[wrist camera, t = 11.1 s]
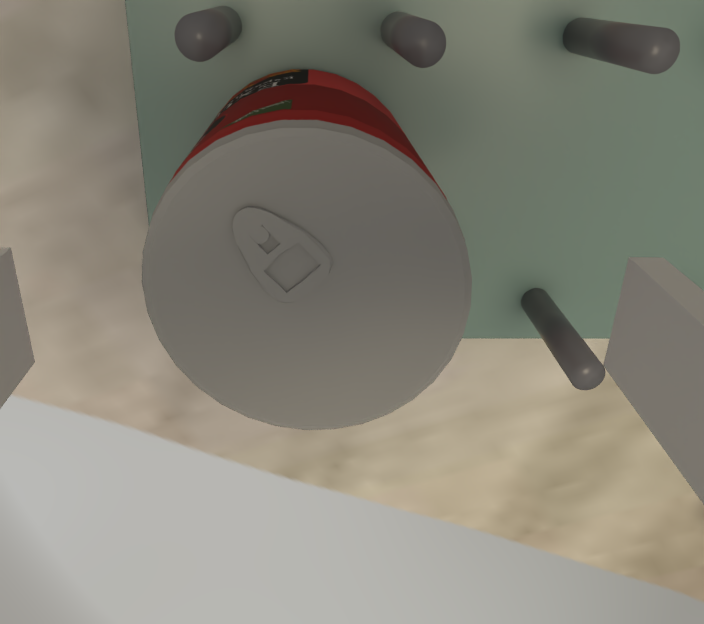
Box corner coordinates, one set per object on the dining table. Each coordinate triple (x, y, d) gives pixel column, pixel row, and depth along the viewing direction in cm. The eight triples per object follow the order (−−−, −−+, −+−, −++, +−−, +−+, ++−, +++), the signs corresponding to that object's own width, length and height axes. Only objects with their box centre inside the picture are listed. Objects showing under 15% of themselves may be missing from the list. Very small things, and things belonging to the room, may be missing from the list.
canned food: (272, 19, 23) (244, 46, 13) (453, 148, 25) (546, 255, 15) (167, 200, 26) (77, 337, 16) (340, 302, 28) (357, 478, 18)
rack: (825, -12, 24) (1003, -10, 18) (720, 328, 31) (826, 416, 24) (128, -37, 23) (59, -46, 17) (165, 326, 29) (125, 422, 23)
